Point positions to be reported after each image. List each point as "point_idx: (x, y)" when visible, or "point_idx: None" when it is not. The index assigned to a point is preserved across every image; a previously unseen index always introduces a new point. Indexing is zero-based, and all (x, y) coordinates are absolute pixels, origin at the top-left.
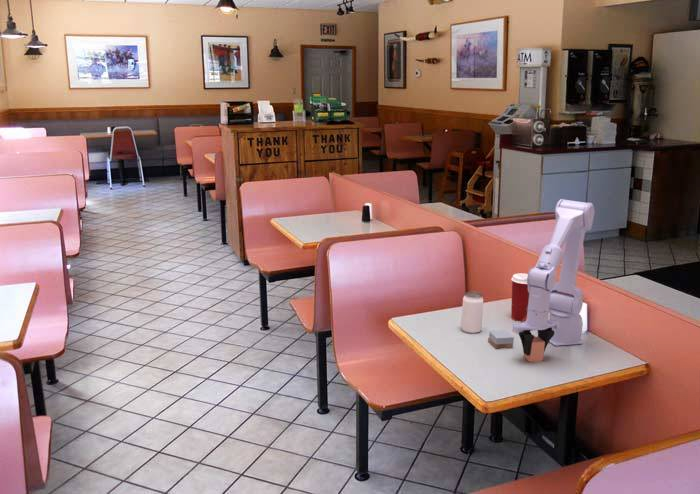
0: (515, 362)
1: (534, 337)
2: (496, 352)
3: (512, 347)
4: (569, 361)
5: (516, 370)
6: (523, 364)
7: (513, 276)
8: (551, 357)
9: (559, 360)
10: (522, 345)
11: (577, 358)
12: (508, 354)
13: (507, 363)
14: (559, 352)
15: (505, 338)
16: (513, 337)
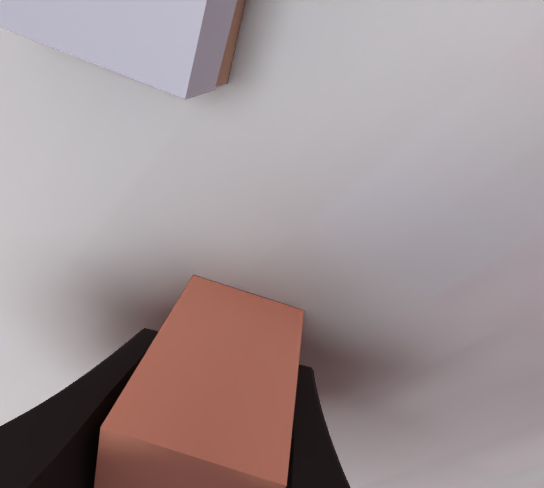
0: (70, 310)
1: (216, 480)
2: (3, 92)
3: (222, 83)
4: (435, 468)
5: (19, 379)
6: (108, 354)
7: None
8: (385, 384)
9: (389, 432)
10: (93, 369)
11: (536, 474)
12: (94, 184)
13: (6, 294)
14: (540, 367)
15: (58, 46)
16: (180, 96)
